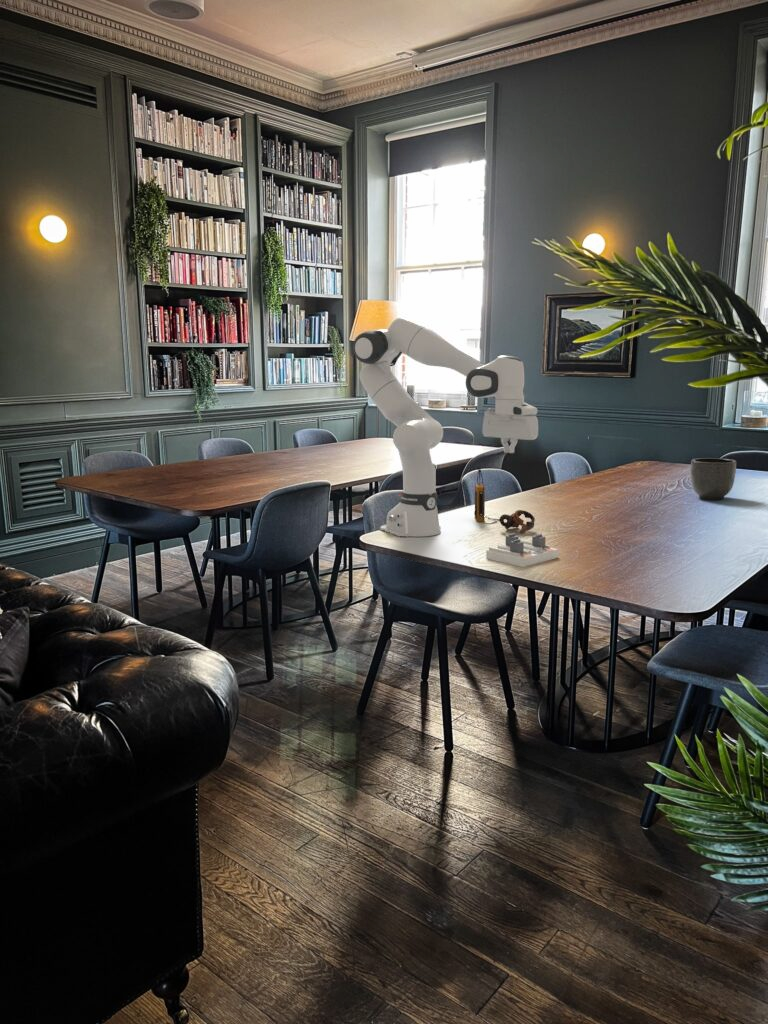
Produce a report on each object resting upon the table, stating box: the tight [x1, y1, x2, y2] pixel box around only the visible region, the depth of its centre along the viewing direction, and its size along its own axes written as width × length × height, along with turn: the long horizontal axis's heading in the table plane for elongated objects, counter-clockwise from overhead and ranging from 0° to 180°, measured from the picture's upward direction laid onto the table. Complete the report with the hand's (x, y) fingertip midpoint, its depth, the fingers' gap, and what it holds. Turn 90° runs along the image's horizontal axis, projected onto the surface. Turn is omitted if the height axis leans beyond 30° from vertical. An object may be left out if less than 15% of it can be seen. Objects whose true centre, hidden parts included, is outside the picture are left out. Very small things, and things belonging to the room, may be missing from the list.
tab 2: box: [531, 533, 546, 548], centre depth 228 cm, size 3×2×4 cm
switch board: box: [485, 539, 559, 568], centre depth 227 cm, size 14×16×3 cm
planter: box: [690, 457, 737, 501], centre depth 318 cm, size 17×17×16 cm
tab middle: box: [505, 532, 520, 546], centre depth 229 cm, size 3×2×4 cm
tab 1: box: [510, 538, 524, 554], centre depth 222 cm, size 3×2×4 cm
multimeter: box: [473, 465, 500, 525], centre depth 281 cm, size 15×10×20 cm
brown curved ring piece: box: [498, 509, 536, 534], centre depth 263 cm, size 12×10×8 cm
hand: (509, 452), depth 241 cm, fingers closed
